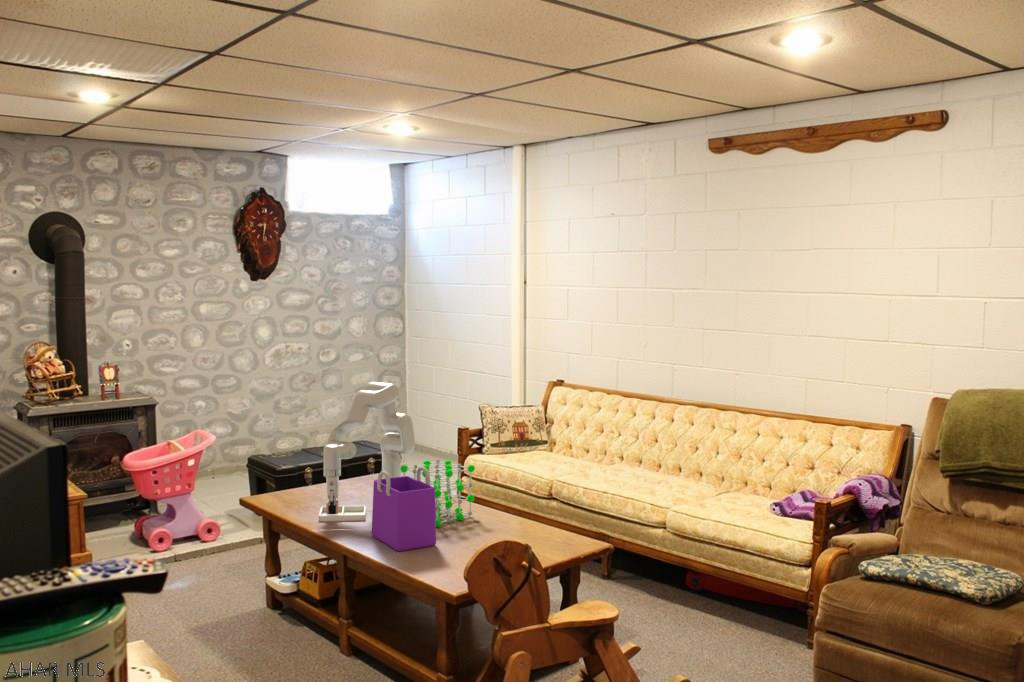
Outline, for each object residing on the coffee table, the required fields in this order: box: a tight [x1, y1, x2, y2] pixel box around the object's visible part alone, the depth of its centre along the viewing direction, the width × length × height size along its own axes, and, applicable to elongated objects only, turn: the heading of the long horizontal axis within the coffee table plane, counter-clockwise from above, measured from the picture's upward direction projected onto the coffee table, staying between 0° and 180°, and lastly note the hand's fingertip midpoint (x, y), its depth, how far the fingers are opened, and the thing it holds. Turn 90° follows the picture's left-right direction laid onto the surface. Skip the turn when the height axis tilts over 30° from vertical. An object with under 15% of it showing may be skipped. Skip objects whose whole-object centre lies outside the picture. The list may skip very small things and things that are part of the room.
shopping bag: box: [371, 466, 437, 552], centre depth 352 cm, size 28×22×30 cm
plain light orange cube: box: [325, 499, 339, 515], centre depth 386 cm, size 5×5×5 cm
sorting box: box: [318, 505, 367, 522], centre depth 387 cm, size 20×16×3 cm
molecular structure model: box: [400, 458, 476, 528], centre depth 388 cm, size 24×25×24 cm
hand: (332, 511), depth 386 cm, fingers closed on plain light orange cube, 4 cm apart
